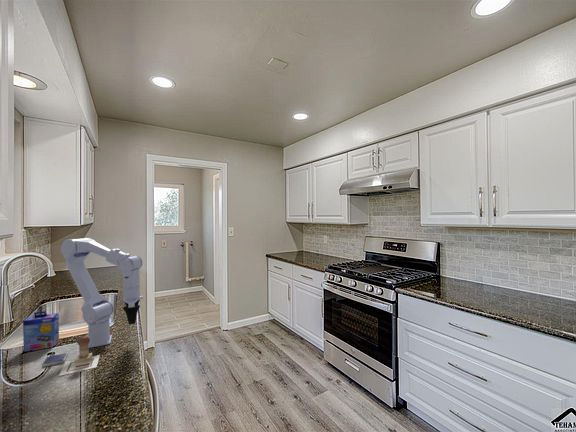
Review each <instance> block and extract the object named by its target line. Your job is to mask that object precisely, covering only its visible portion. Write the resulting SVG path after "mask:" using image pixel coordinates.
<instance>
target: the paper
mask: <svg viewBox="0 0 576 432" xmlns="http://www.w3.org/2000/svg"><path fill="white" fill-rule="evenodd" d="M100 356H101V354H97V355H96V354H95V355H92V361H91V363H90V364H89V365H85V366H80V367H76V359H74V360H68V361H65V362H64V364H63V367H62V368H61V370H60V373H58V377H61V376H66V375H70V374H76V373H79V372H83V371H88V370H92V369H96V368H97V367H98V363H99V361H100Z"/></svg>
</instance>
